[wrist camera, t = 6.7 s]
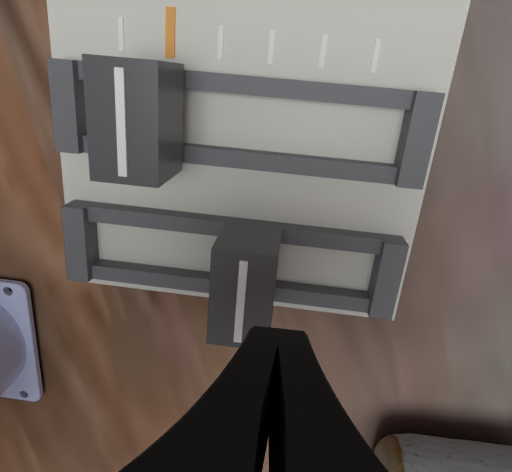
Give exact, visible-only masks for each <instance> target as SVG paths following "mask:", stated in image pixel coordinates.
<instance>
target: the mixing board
mask: <svg viewBox="0 0 512 472" xmlns="http://www.w3.org/2000/svg"><path fill="white" fill-rule="evenodd" d="M470 1H471V0H47V9H48V20H49V32H50V43H51V54H52V58H47V66H48V76H49V87H50V98H51V108H52V119H53V130H54V141H55V151H56V152H60V155H61V166H62V177H63V188H64V199H65V205H63V206H61V215H62V226H63V237H64V247H65V258H66V269H67V280H71V281H79V282H87V283H96V284H104V285H112V286H120V287H128V288H136V289H144V290H152V291H160V292H168V293H176V294H184V295H193V296H201V297H209V282H210V260H211V248H212V246H213V244H214V242H215V240H216V239H217V237H218V235H219V233H220V231H221V229H222V227H223V225H224V223H225V222H233V223H241V224H250V225H259V226H268V227H277V228H282V233H281V242H280V251H279V260H278V269H277V277H276V286H275V295H274V304H273V306H281V307H289V308H297V309H305V310H313V311H321V312H329V313H337V314H345V315H353V316H361V317H369V318H376V319H384V320H393V321H394V318H395V314H396V310H397V306H398V302H399V298H400V293H401V289H402V285H403V281H404V277H405V272H406V268H407V264H408V260H409V256H410V252H411V247H412V243H413V239H414V235H415V231H416V227H417V222H418V218H419V214H420V210H421V206H422V202H423V197H424V193H425V189H426V185H427V181H428V176H429V172H430V168H431V164H432V160H433V156H434V151H435V147H436V143H437V139H438V135H439V131H440V126H441V122H442V118H443V114H444V110H445V106H446V101H447V97H448V93H449V89H450V85H451V81H452V76H453V72H454V68H455V64H456V60H457V55H458V51H459V47H460V43H461V39H462V35H463V30H464V26H465V22H466V18H467V14H468V10H469V5H470ZM82 54H93V55H104V56H115V57H127V58H138V59H149V60H160V61H167V62H173V63H180V64H184V90H183V96H184V120H183V146H182V171H180V172H179V173H178V174H176V175H175V176H174V177H172V178H171V179H170V180H169V181H167V182H166V183H165V184H163V185H162V186H161V187H159V188H151V187H142V186H133V185H124V184H115V183H105V182H96V181H90V175H89V159H88V144H87V128H86V113H85V98H84V82H83V67H82Z"/></svg>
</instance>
